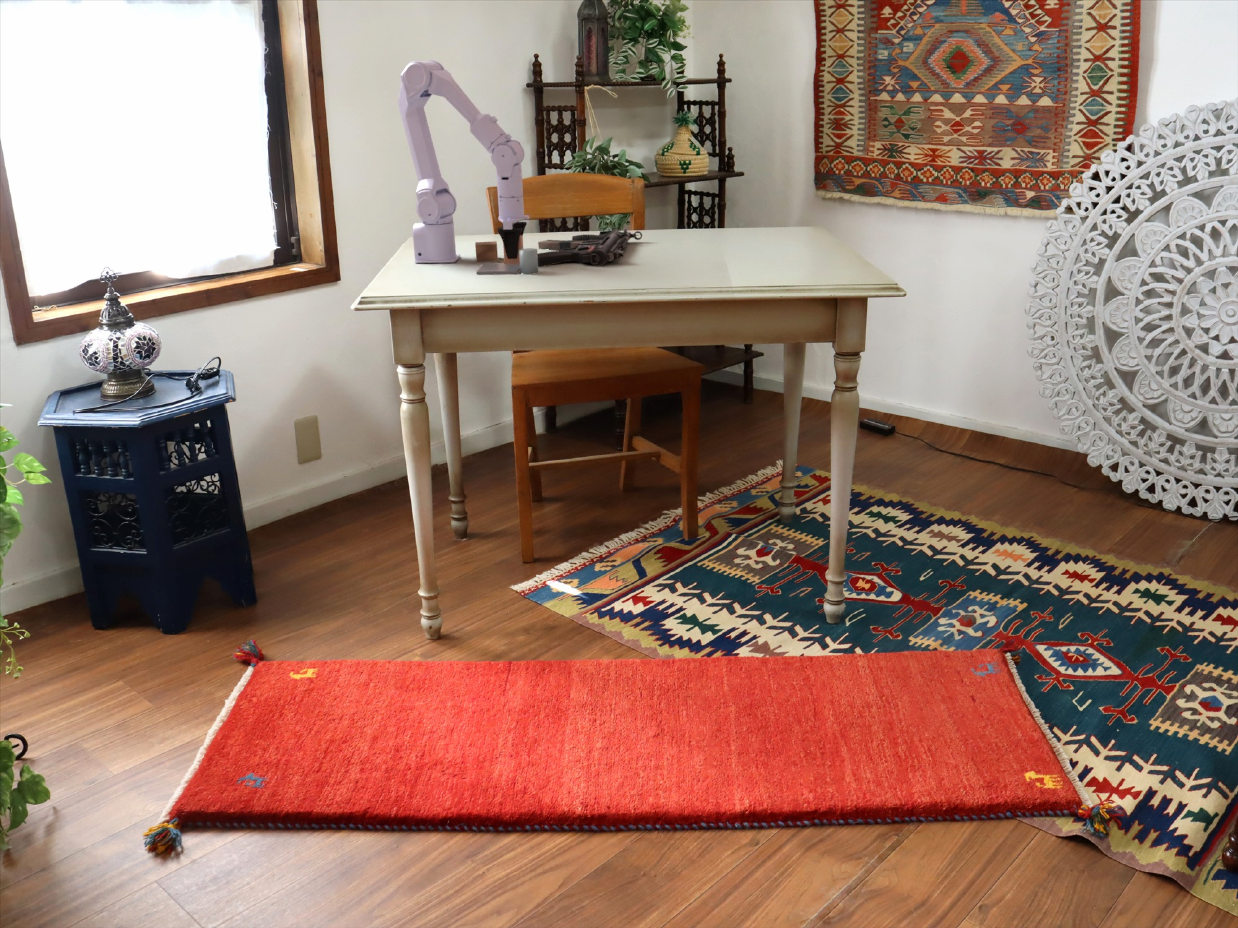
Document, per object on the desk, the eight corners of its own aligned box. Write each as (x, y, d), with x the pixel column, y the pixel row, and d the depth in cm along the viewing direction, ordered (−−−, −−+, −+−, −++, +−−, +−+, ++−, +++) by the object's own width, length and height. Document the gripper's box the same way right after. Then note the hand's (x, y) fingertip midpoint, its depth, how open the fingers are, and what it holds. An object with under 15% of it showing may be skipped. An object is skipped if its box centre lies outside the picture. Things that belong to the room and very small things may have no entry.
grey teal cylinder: (519, 274, 233) (517, 251, 231) (521, 271, 236) (520, 248, 235) (537, 274, 232) (536, 251, 231) (539, 270, 236) (538, 248, 234)
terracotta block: (504, 264, 244) (502, 238, 242) (507, 261, 248) (505, 235, 246) (521, 264, 244) (520, 238, 242) (524, 261, 248) (522, 235, 245)
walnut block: (476, 262, 248) (475, 245, 246) (476, 259, 252) (475, 242, 250) (498, 261, 248) (496, 244, 247) (497, 258, 252) (496, 241, 251)
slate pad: (476, 274, 234) (476, 271, 233) (483, 266, 242) (483, 264, 242) (517, 273, 233) (517, 271, 233) (522, 266, 242) (522, 263, 241)
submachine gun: (545, 230, 270) (642, 225, 266) (547, 248, 272) (643, 242, 268) (516, 253, 240) (625, 247, 236) (518, 272, 242) (626, 267, 238)
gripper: (523, 200, 233) (527, 262, 238) (531, 192, 247) (534, 250, 252) (492, 201, 234) (496, 262, 239) (501, 192, 247) (505, 251, 252)
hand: (513, 256), depth 245 cm, fingers open, 5 cm apart
